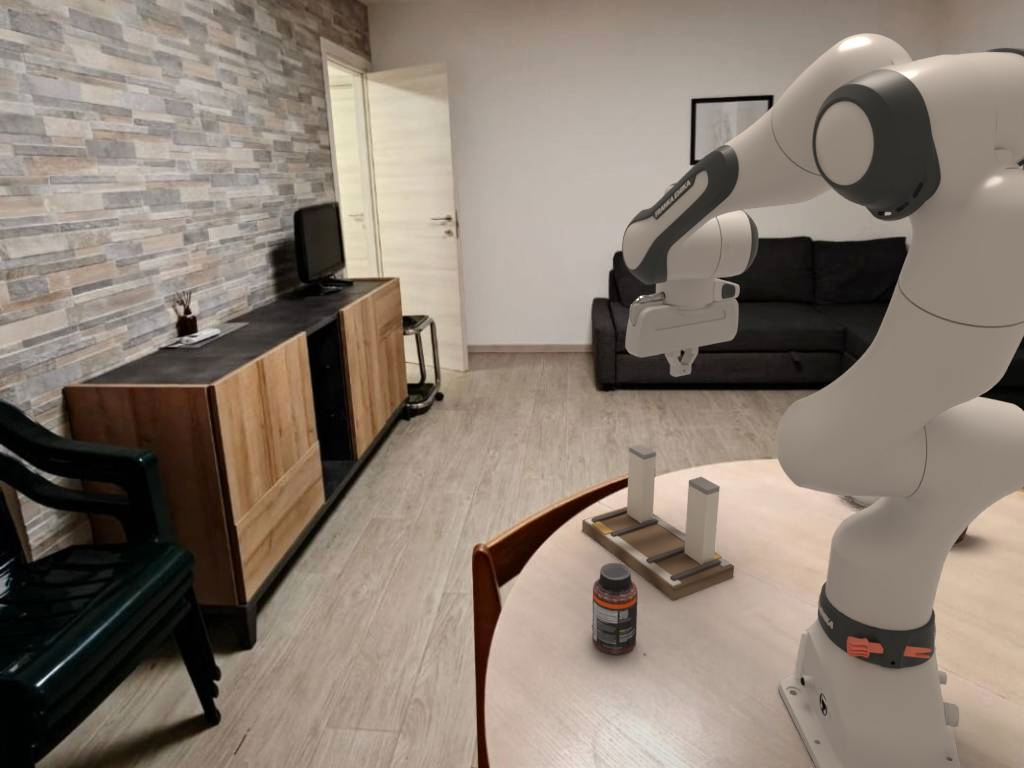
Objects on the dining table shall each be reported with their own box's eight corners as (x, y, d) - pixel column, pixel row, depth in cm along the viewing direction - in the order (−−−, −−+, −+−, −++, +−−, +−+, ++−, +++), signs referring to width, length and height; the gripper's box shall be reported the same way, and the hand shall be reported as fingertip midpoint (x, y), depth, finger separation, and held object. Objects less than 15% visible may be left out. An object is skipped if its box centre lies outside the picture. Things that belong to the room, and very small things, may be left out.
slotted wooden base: (733, 577, 113) (734, 562, 113) (673, 600, 108) (674, 585, 107) (636, 513, 133) (637, 500, 133) (582, 530, 128) (582, 517, 127)
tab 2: (713, 560, 114) (719, 486, 110) (701, 564, 113) (707, 490, 109) (696, 548, 117) (701, 476, 113) (684, 553, 116) (688, 480, 112)
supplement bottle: (609, 622, 103) (611, 552, 100) (644, 641, 99) (648, 569, 96) (583, 643, 99) (584, 571, 96) (618, 663, 95) (621, 588, 92)
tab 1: (652, 519, 127) (655, 452, 123) (641, 523, 125) (644, 455, 121) (638, 510, 130) (640, 444, 126) (627, 513, 129) (629, 447, 125)
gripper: (644, 300, 105) (641, 391, 109) (747, 285, 114) (741, 369, 119) (618, 293, 110) (615, 380, 115) (718, 279, 119) (713, 360, 124)
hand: (680, 374), depth 117 cm, fingers closed
